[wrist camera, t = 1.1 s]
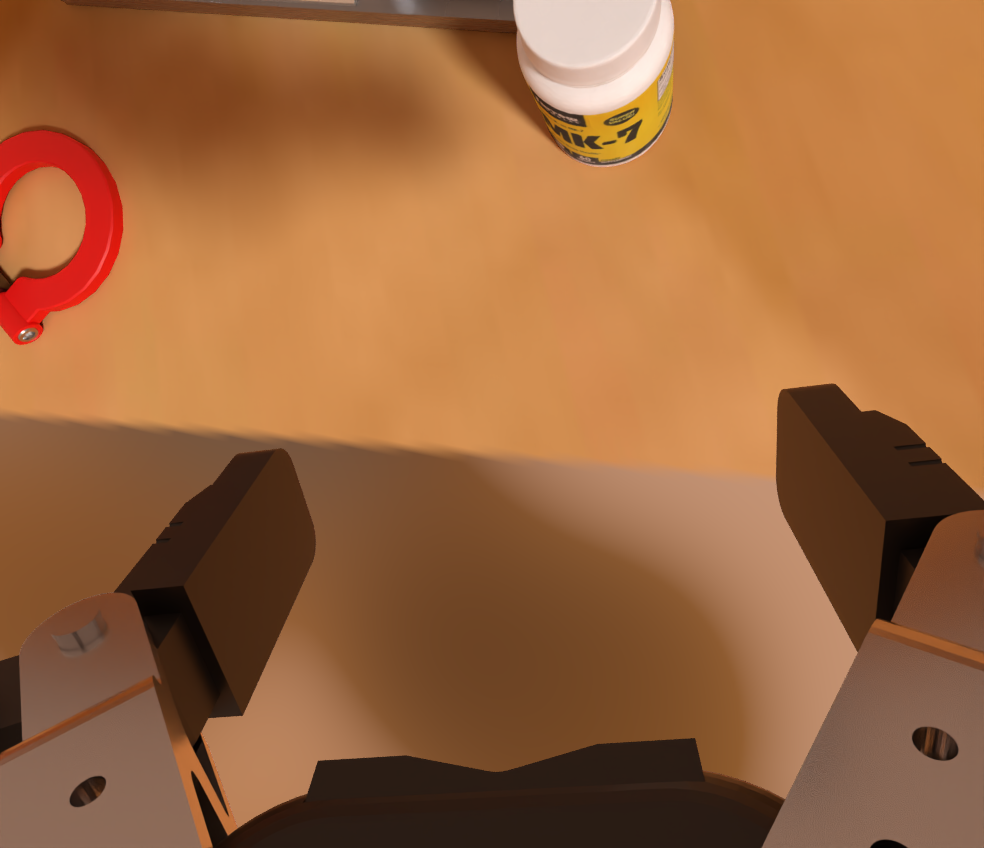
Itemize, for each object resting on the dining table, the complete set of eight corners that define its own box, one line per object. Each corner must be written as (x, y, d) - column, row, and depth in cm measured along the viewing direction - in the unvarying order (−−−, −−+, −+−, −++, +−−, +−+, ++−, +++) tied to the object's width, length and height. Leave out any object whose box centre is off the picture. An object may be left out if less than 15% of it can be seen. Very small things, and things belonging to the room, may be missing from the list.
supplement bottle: (538, 164, 28) (483, 75, 20) (559, 40, 27) (510, -103, 19) (661, 176, 27) (655, 87, 19) (684, 47, 26) (689, -101, 18)
